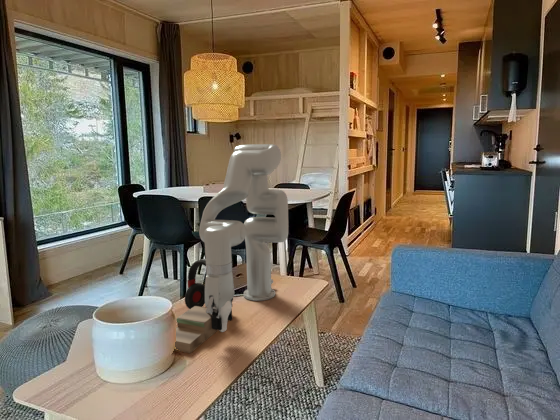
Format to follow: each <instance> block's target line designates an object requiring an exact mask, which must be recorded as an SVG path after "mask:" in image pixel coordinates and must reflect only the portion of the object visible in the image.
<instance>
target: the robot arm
mask: <svg viewBox="0 0 560 420" xmlns="http://www.w3.org/2000/svg"><path fill="white" fill-rule="evenodd" d="M281 161H282V151H281V149H280V148H279V146H278V145H277V144H272V143H270V144H269V143H268V144H267V143H262V144H261V143H260V144H259V143H258V144H257V143H254V144H252V143H249V144H247V143H246V144H240V145H237V146H235V147H234V149H233V152H232V153H231V155H230V157H229V160H228V164H227V169H226V174H225V176H224V182H223V187H222V189H221V190H220V191H218V192H217V193H216V194H215V195H214V196H212V198H211V199H210V200H209V201H208V202H207V203H206V206H205V208H204V209H203V211H202V216H201V220H200V224H199V228H198V229H199V234H198V235H199V238H200V240H201V241H202V242H203V243H204V254H205V259H206V266H205V267H206V270H205V271H206V275H205V282H204V286H205V304H204V306H205V308H207V309H206V313H207V314H209V315H210V317H211V323H212V329H215V330H217V331H219V330H222V319H221V317H220V312H221V308H222V307H223V306H224V305H225V304H226V302H227V301H230V302H231V305H232V306H233V301H234V297H235V284H234V276H233V261H232V260H233V259H232V247H235V246H238V245H240V244H242V243H243V242H245V251H246V252H245V254H246V255H245V256H246V287H247V289H245V290H244V291H243V297H244V298H245V299H246V300H249V301H257V302H259V301H266V300H271V299H273V298H274V297H275V296H276V290H274V289H273V288H272V284H273V283H274V279H272V261H271V259H272V256H271V250H270V247H269V246H268V245H267V243H284V242H286V241H287V240H288V238H289V202H288V201H289V200H288V195H287V193H286V192H285V191H284V190H282V189H271V188H270V189H269V181H268V179H269V177H268V175H270V174H272V173H273V172H274V171H275V170H276V169H277V168H278V167H279V166H280V163H281ZM244 200H245V203H246V204H245V205H246V209H247V212H248V213H250V214H253V215H273V216H274V217H267V216H266V217H265V216H253V217H252V216H251V217H248V218H247V219H245V220H244V223H243V222H242V221H241V220H233V219H231V220H229V219H216V218H217V216H218V215H219V214H220V212H221V211H222V210H225V209H226V208H228V207H231V206H232V205H234V204H237V203H239V202H242V201H244ZM214 305H216V307H215V306H214ZM214 309H217V313H216V312H214ZM228 321H229V322H231V321H233V308H232V309H231V312H230V314H229V316H228V320H227V322H228Z"/></svg>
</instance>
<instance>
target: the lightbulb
mask: <svg viewBox="0 0 560 420" xmlns="http://www.w3.org/2000/svg"><path fill="white" fill-rule="evenodd" d="M214 306H215V307H216V305H214ZM231 309H232V310H233V304H232V305H231V302H230V301H227V302H226V304H225V305H224V306H223V307H222V308H221V312H220V317H221V319H222V330H218V331H219V332H221V333H224V332H225V331H227V330H228V316H229V314H230V312H231ZM214 312H216V313H217V309H214Z"/></svg>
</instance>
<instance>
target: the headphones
mask: <svg viewBox="0 0 560 420" xmlns="http://www.w3.org/2000/svg"><path fill="white" fill-rule="evenodd" d="M200 266H205V267H206V258H202V259H198V260H196V261H194V262H193V263H192V264H191V266H190V268H189V270H188V274H187V279H188V280H187V289H186V292H185V294H184V304H185V306H186V308H187V309H188V310H190V309H191V308H193V307H194V306H199V307H204V306H205V284H202V283H201V282H200V283H199V282H196V277H197V272H198V269H199V268H200Z"/></svg>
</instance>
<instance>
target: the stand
mask: <svg viewBox="0 0 560 420" xmlns="http://www.w3.org/2000/svg"><path fill="white" fill-rule="evenodd" d="M206 309H207V307H206V306H205V307H204V306H202V307H199V306H194V307H193V308H191V309H188V310H186V311H185V312H183V313H182V314H181V315H179V316H178V317H177V318H176V323H177V324H176V325H177V326H176V327H175V328H176V342H175V347H176V349H178V350H180V351H179V352H182V351H183V353H187V354H191V353H193V352H194V351H195V350H196V349H197V348H198V347H200V346H201V345H202V344H203V343H205V341H207V340H208V339H210V337H212V336H213V335H214V334H216V332H218V330H215V329H212V323H211V317H210V315H209V314H207V313H206Z"/></svg>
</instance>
